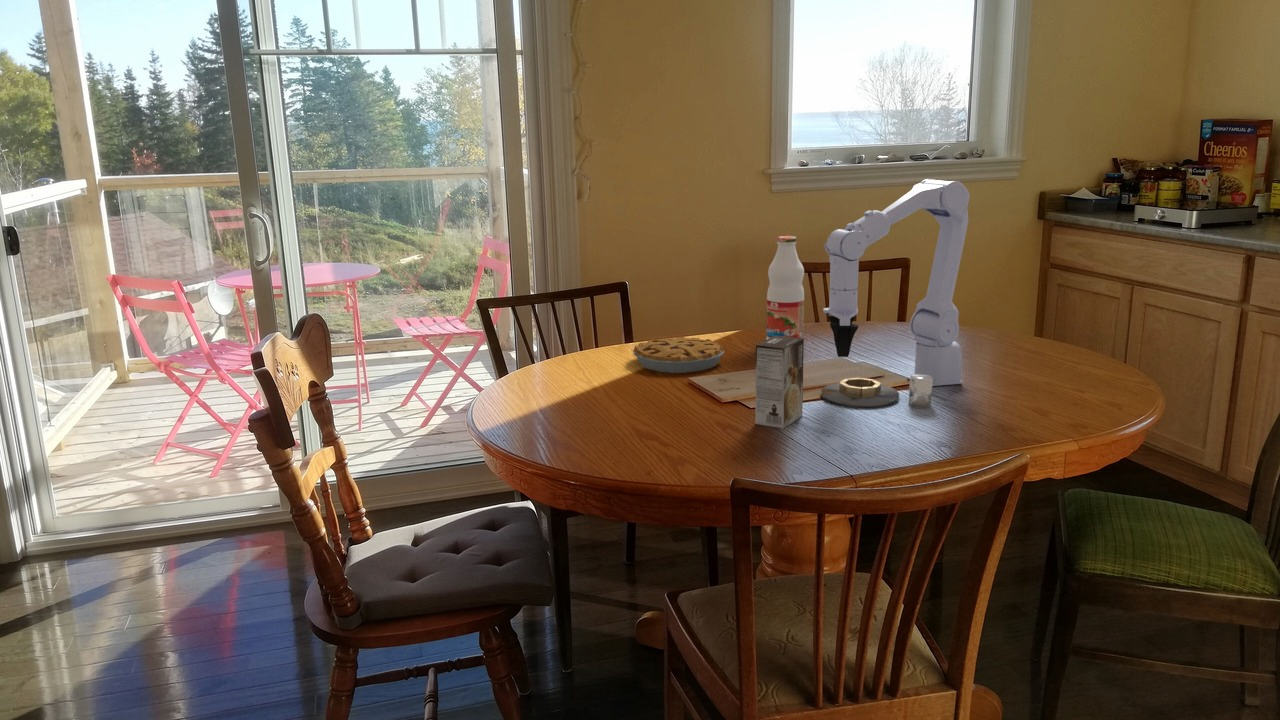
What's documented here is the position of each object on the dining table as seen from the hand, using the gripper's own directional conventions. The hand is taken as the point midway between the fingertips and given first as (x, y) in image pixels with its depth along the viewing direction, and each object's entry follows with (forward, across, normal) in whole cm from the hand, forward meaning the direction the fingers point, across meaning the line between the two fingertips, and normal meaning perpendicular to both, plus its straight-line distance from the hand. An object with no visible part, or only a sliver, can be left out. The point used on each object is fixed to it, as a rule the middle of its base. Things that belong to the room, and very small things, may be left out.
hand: (841, 351), depth 201 cm
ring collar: (+10, +1, +4) cm, 10 cm away
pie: (+10, -25, -37) cm, 46 cm away
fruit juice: (+10, -45, -12) cm, 47 cm away
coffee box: (+10, +18, -13) cm, 24 cm away
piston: (+10, +6, +16) cm, 19 cm away
